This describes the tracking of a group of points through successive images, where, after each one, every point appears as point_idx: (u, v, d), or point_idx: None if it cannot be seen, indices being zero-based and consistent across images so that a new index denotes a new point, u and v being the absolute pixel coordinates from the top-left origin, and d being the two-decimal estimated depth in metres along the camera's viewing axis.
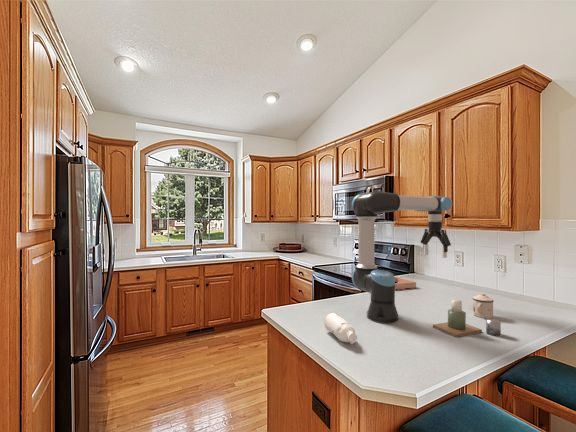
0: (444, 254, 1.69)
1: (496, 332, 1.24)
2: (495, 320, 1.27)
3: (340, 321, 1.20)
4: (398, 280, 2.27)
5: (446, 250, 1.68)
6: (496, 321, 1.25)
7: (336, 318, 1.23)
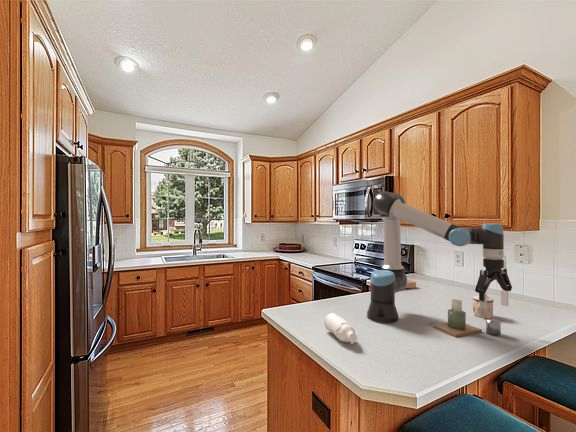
0: (481, 303, 1.25)
1: (496, 332, 1.24)
2: (495, 320, 1.27)
3: (340, 321, 1.20)
4: None
5: (480, 298, 1.24)
6: (496, 321, 1.25)
7: (336, 318, 1.23)
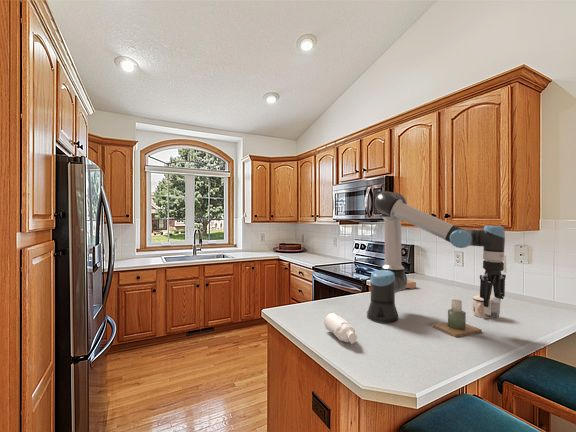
0: (485, 309, 1.27)
1: (494, 314, 1.25)
2: (494, 302, 1.27)
3: (340, 321, 1.20)
4: None
5: (485, 304, 1.26)
6: (495, 304, 1.25)
7: (336, 318, 1.24)
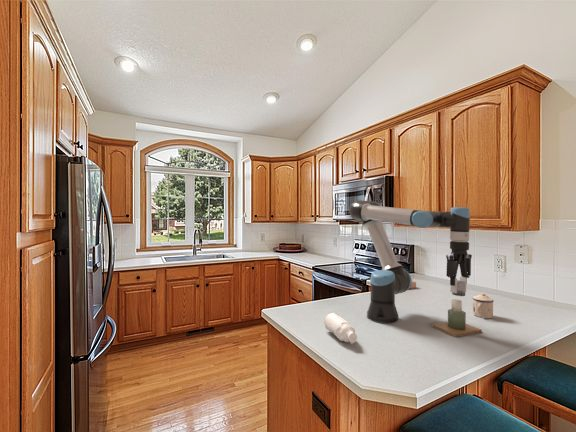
0: (452, 288, 1.31)
1: (460, 292, 1.29)
2: (460, 281, 1.32)
3: (340, 321, 1.20)
4: None
5: (451, 283, 1.30)
6: (461, 282, 1.30)
7: (336, 318, 1.24)
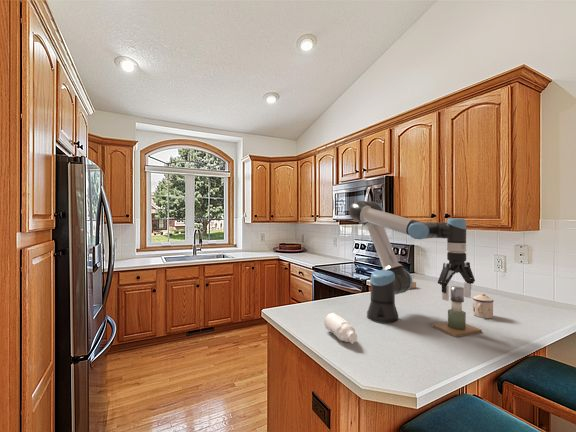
0: (444, 295, 1.30)
1: (459, 299, 1.29)
2: (459, 287, 1.31)
3: (340, 321, 1.20)
4: None
5: (443, 290, 1.29)
6: (459, 288, 1.30)
7: (336, 318, 1.24)
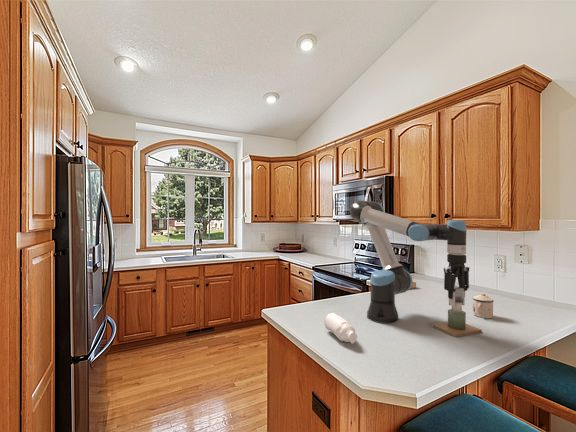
0: (450, 301, 1.31)
1: (459, 299, 1.29)
2: (459, 287, 1.31)
3: (340, 321, 1.20)
4: None
5: (449, 296, 1.30)
6: (459, 288, 1.30)
7: (336, 318, 1.24)
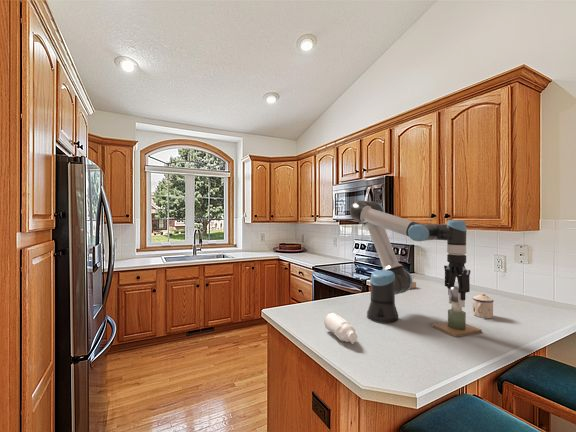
0: (461, 303, 1.28)
1: None
2: (454, 287, 1.32)
3: (340, 321, 1.20)
4: None
5: (463, 298, 1.27)
6: (455, 286, 1.34)
7: (336, 318, 1.24)
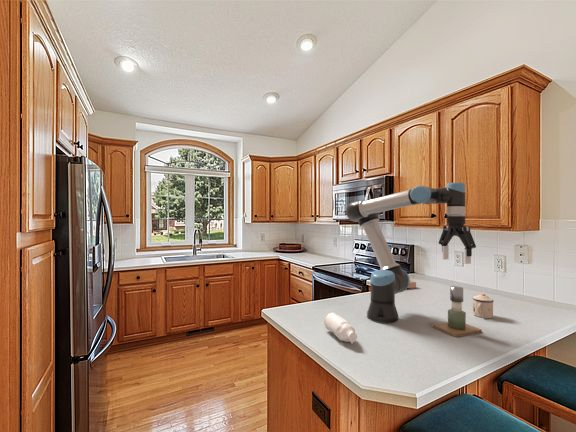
0: (467, 259, 1.27)
1: None
2: (454, 287, 1.32)
3: (340, 320, 1.20)
4: None
5: (469, 254, 1.26)
6: (455, 286, 1.34)
7: (336, 318, 1.24)
